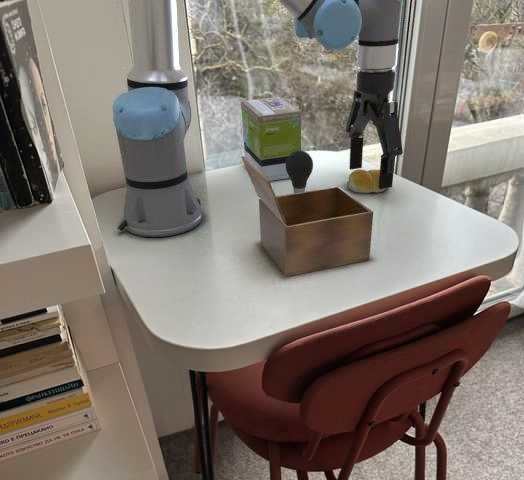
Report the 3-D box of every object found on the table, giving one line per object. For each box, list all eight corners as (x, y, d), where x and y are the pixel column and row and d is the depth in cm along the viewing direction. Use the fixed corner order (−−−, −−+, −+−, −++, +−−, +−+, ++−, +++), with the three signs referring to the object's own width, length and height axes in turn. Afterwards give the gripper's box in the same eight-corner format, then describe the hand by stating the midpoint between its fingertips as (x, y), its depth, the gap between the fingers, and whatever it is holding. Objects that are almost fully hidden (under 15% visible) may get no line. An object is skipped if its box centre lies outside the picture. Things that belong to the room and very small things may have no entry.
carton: (286, 276, 89) (285, 227, 84) (260, 244, 99) (258, 198, 94) (369, 260, 93) (373, 211, 88) (336, 230, 103) (338, 185, 98)
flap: (286, 222, 84) (284, 224, 84) (259, 194, 94) (257, 195, 94) (269, 180, 79) (267, 181, 79) (243, 155, 89) (240, 156, 89)
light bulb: (297, 206, 113) (297, 157, 107) (280, 198, 117) (279, 150, 111) (318, 199, 116) (319, 151, 110) (301, 192, 119) (301, 145, 113)
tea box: (243, 163, 137) (239, 99, 128) (281, 158, 139) (280, 95, 130) (261, 183, 125) (258, 114, 116) (302, 177, 127) (303, 109, 118)
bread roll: (393, 192, 117) (395, 174, 115) (352, 195, 117) (353, 176, 114) (383, 179, 124) (385, 161, 121) (344, 182, 123) (345, 164, 121)
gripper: (429, 76, 97) (416, 193, 110) (364, 57, 117) (359, 158, 129) (391, 82, 96) (382, 199, 108) (331, 61, 115) (329, 163, 127)
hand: (369, 177), depth 119 cm, fingers open, 13 cm apart
